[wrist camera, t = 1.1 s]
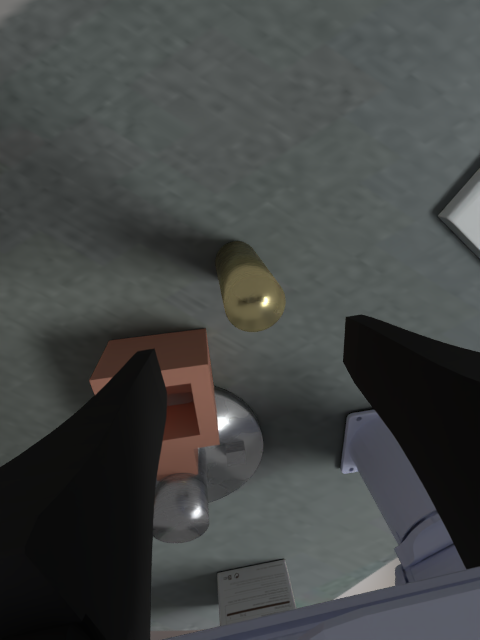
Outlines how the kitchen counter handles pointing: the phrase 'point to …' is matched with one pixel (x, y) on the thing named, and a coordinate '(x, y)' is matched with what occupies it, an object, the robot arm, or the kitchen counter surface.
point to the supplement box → (254, 592)
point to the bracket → (179, 377)
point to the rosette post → (209, 472)
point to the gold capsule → (248, 288)
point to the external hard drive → (465, 214)
